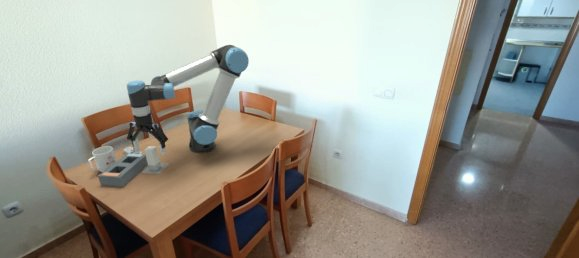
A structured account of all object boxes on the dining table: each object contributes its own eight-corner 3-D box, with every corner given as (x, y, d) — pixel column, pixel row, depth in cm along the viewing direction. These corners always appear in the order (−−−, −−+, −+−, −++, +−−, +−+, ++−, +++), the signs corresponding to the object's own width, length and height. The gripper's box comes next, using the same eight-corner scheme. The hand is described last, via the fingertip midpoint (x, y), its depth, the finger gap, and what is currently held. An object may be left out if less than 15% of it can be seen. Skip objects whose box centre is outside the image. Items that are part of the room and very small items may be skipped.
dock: (148, 164, 145) (146, 154, 142) (123, 188, 126) (119, 177, 123) (129, 162, 146) (127, 152, 143) (101, 186, 127) (97, 175, 125)
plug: (160, 166, 142) (156, 146, 137) (156, 170, 139) (151, 150, 134) (153, 165, 143) (148, 146, 138) (149, 169, 139) (144, 149, 134)
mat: (169, 164, 145) (168, 163, 145) (159, 175, 136) (158, 174, 136) (151, 163, 146) (151, 162, 146) (140, 173, 137) (140, 172, 137)
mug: (110, 162, 146) (104, 144, 141) (122, 166, 143) (116, 147, 139) (88, 174, 136) (81, 155, 131) (100, 178, 133) (93, 159, 128)
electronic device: (127, 134, 156) (140, 141, 148) (132, 149, 160) (144, 156, 152) (118, 138, 153) (130, 145, 144) (122, 153, 157) (135, 160, 148)
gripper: (170, 112, 130) (177, 150, 139) (122, 109, 132) (132, 147, 141) (162, 118, 123) (170, 158, 132) (112, 114, 125) (122, 154, 134)
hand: (150, 152), depth 137 cm, fingers open, 13 cm apart
